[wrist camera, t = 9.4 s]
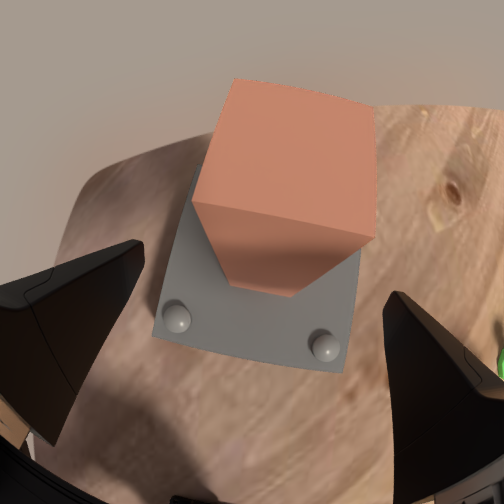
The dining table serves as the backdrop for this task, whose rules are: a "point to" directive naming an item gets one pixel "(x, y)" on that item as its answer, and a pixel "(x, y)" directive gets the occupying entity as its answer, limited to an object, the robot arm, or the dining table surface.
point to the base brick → (252, 307)
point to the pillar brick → (287, 185)
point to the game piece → (501, 365)
